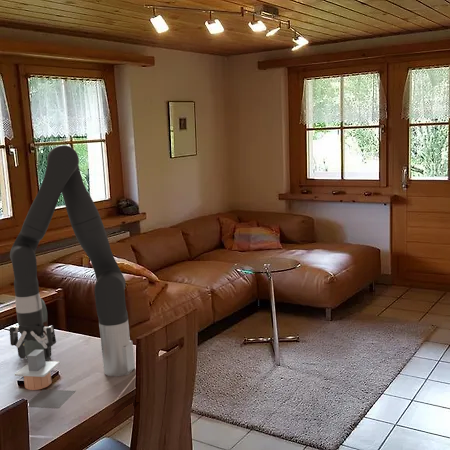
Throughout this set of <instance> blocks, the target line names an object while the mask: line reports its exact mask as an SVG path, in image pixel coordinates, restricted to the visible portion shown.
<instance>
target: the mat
mask: <svg viewBox="0 0 450 450" xmlns="http://www.w3.org/2000/svg"><path fill="white" fill-rule="evenodd" d="M75 393H76V390H65V389H64V390H62V389H42V390H40V392H38V393H37V394H36V395H35V396H34V397H33V398H32V399H31V400H30V401H28V402H27V403H29V407H28V408H45V409H60V408H61V407H62V405H64V404H65V402H67V401H68V400H69V398H71V397H72V396H73V394H75Z"/></svg>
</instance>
